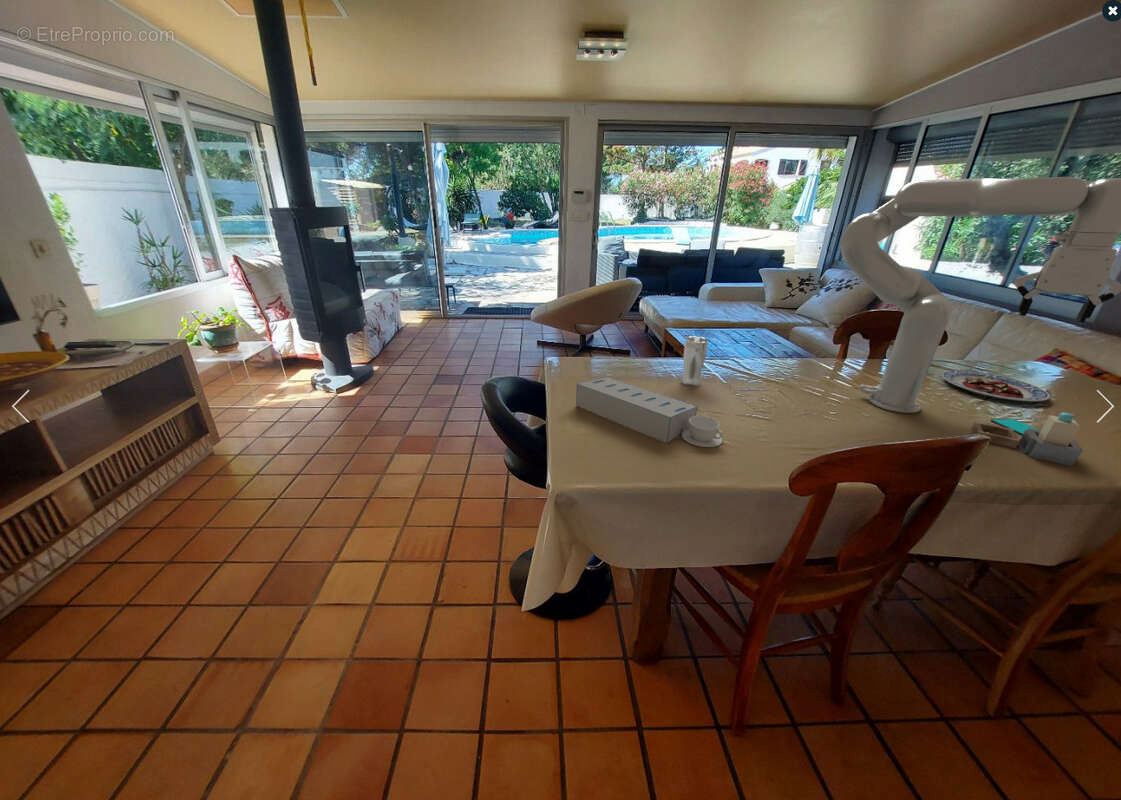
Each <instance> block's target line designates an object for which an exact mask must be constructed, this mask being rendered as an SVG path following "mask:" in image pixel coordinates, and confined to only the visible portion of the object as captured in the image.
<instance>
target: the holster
mask: <svg viewBox="0 0 1121 800" xmlns="http://www.w3.org/2000/svg"><path fill="white" fill-rule="evenodd" d="M971 431H972V433H973V435H974V434H981V435H985V436H988V437H990V438H991V441H992V442H994V443H992V442H990V443H992V444H996V445H1001V446H1005V447H1010V448H1013V449H1014V448H1015V449H1016V448H1017V446H1018V445H1019V444H1018V443H1019V441H1020V439H1019V438H1018V435H1017V433H1015V432H1014V430H1013V429H1009V428H1004V427H1002V426H999V425H996V424H995V425H993V424H990V423H985V422H980V421H975V420H974V422H973V423H972V425H971ZM987 432H989V433H987Z"/></svg>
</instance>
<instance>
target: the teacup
mask: <svg viewBox="0 0 1121 800" xmlns="http://www.w3.org/2000/svg"><path fill="white" fill-rule="evenodd" d="M720 426H721V424H720V422H719V421H718V420H716V419H715V418H713V417H710V416H706V415H696V416H693V417H691V418H690V419H689V428H688V429H685V430H684V431H682V433H680V435H681V437H682V439H683V440H684V441H686V442H687V443H689V444H691V445H694V446H698V447H702V448H715V447H718V446H720V445H721V444H722V443H723V440H724V439H723V438H722V437H723V435H724V432H723V431H722V430H721V429H720Z"/></svg>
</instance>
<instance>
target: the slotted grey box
mask: <svg viewBox="0 0 1121 800" xmlns="http://www.w3.org/2000/svg"><path fill="white" fill-rule="evenodd" d="M575 399H576V400H575V401H576V402H575V406H576V405H578V406H581V407H583V408H585V409H588V410H590V411H592V412H594V413H596V414H599V415H601V416H604V417H605V418H604V417H603V418H604V419H606V418H608V419H607V420H609V419H610V420H609V421H611V420H612V422H614V421H615V422H614V423H616V422H617V423H616V424H620V425H621V424H622V425H621V426H623V425H624V427H626V426H627V427H626V428H628V427H629V429H631V430H634V431H636V432H639V433H641V434H643V435H645V436H649V437H651V438H652V439H653V438H654V439H656V440H658V441H661V442H664V443H665V444H668V443H670V442H671V441H672V440H673V439H675V438H676V437H678V436H680V435H681V434H682V431H684V430H685V429H688V428H689V419H690V418H691V417H693V416H697V411H698V406H697V405H694V404H691V403H689V402H685V401H681V400H678V399H676V398H673V397H670V396H667V395H664V394H660V393H657V392H654V391H651V390H649V389H646V388H642V387H639V386H635V385H634V384H630V383H628V382H624V381H621V380H618V379H615V378H612V377H608V376H606V377H601V378H596V379H590V380H588V381H587V380H586V381H582V382H579V383H576V398H575ZM594 413H593V414H594ZM596 414H595V415H596ZM599 415H598V416H599ZM601 416H600V417H601Z"/></svg>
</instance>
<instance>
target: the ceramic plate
mask: <svg viewBox="0 0 1121 800" xmlns="http://www.w3.org/2000/svg"><path fill="white" fill-rule="evenodd" d="M941 377H942V379H944V380H945V381H946V382H948V383H949V384H952V385H954V386H956V387H959V388H962V389H964V390H966V391H968V392H971V393H974V394H977V395H980V396H985V397H988V398H994V399H998V400H1006V401H1021V402H1042V401H1043V402H1045V401H1047V400H1049V399H1050V396H1051V395H1050V393H1048V391H1046V390H1044V389H1043V388H1041V387H1038V386H1036V385H1034V384H1031V383H1028V382H1026V381H1021V380H1019V379H1015V378H1013V377H1012V378H1011V377H1007V376H1003V375H999V374H995V373H994V374H993V373H987V372H982V371H974V370H960V369H959V370H954V369H953V370H947V371H944V372H943V373H942V374H941Z"/></svg>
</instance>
